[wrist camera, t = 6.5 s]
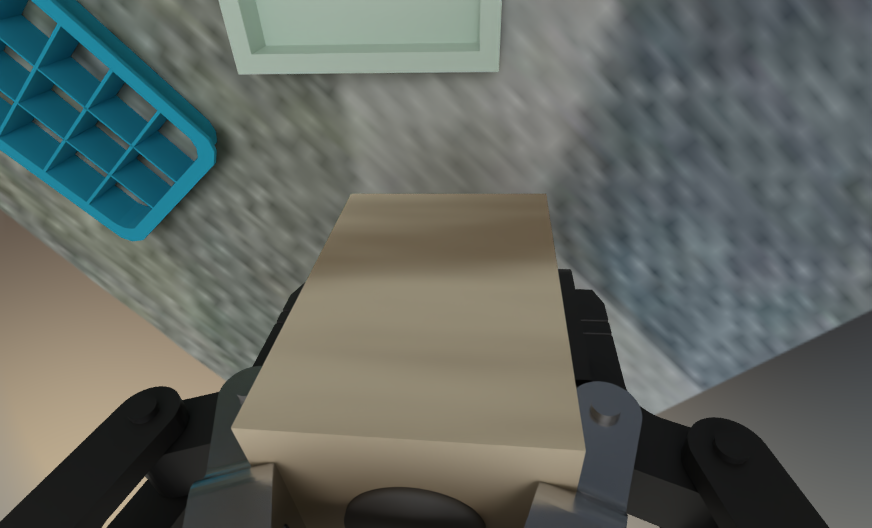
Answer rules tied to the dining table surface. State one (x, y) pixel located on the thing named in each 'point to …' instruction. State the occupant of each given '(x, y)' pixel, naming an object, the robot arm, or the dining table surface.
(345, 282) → the birch block
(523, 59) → the dining table surface
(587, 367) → the robot arm
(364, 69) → the tray
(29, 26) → the ice cube tray
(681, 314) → the dining table surface
